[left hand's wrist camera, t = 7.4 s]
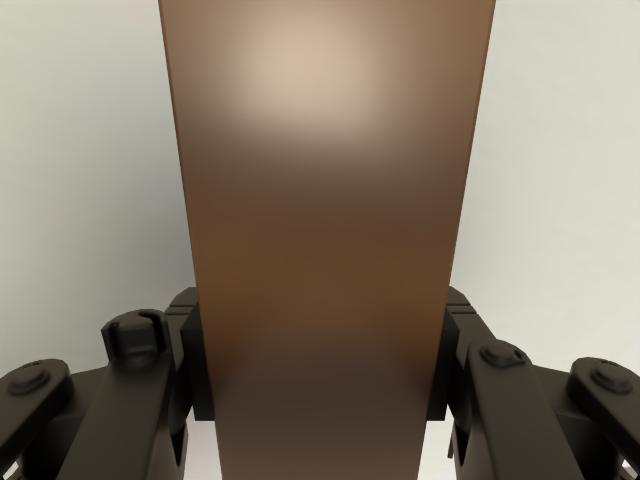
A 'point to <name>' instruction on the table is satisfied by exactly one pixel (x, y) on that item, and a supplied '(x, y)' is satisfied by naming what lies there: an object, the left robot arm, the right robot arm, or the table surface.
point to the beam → (323, 218)
